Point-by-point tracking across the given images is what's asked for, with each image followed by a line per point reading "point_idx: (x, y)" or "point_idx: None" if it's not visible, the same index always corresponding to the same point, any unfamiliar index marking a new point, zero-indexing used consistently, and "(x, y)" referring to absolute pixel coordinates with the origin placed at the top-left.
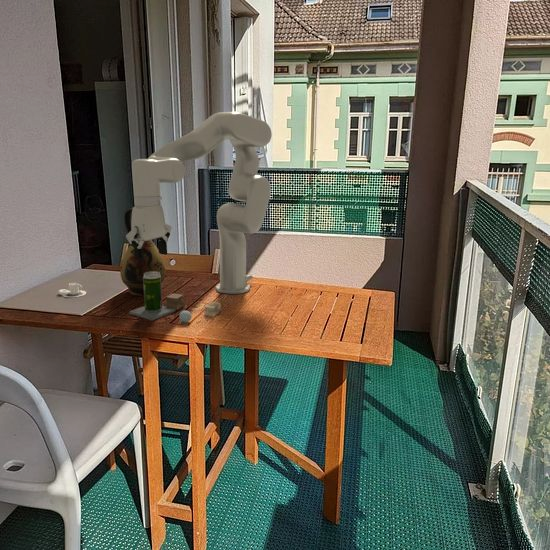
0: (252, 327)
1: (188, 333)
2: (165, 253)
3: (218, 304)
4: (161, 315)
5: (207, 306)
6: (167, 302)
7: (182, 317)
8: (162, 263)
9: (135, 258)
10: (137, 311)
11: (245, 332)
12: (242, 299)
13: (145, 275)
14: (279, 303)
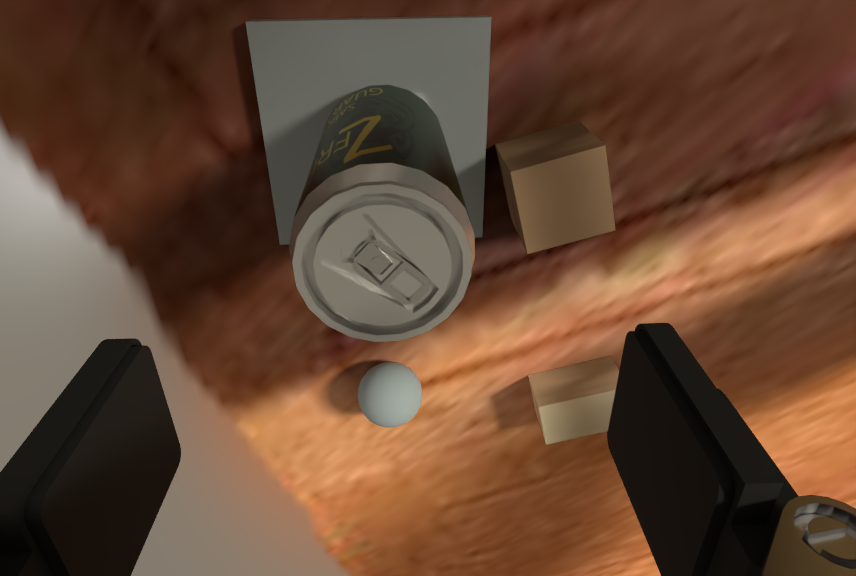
0: (513, 563)
1: (300, 461)
2: (614, 452)
3: (605, 431)
4: None
5: (547, 415)
6: (504, 166)
7: (359, 405)
8: None
9: (101, 359)
10: (287, 76)
11: (456, 572)
12: (841, 361)
13: (294, 264)
14: (835, 497)
